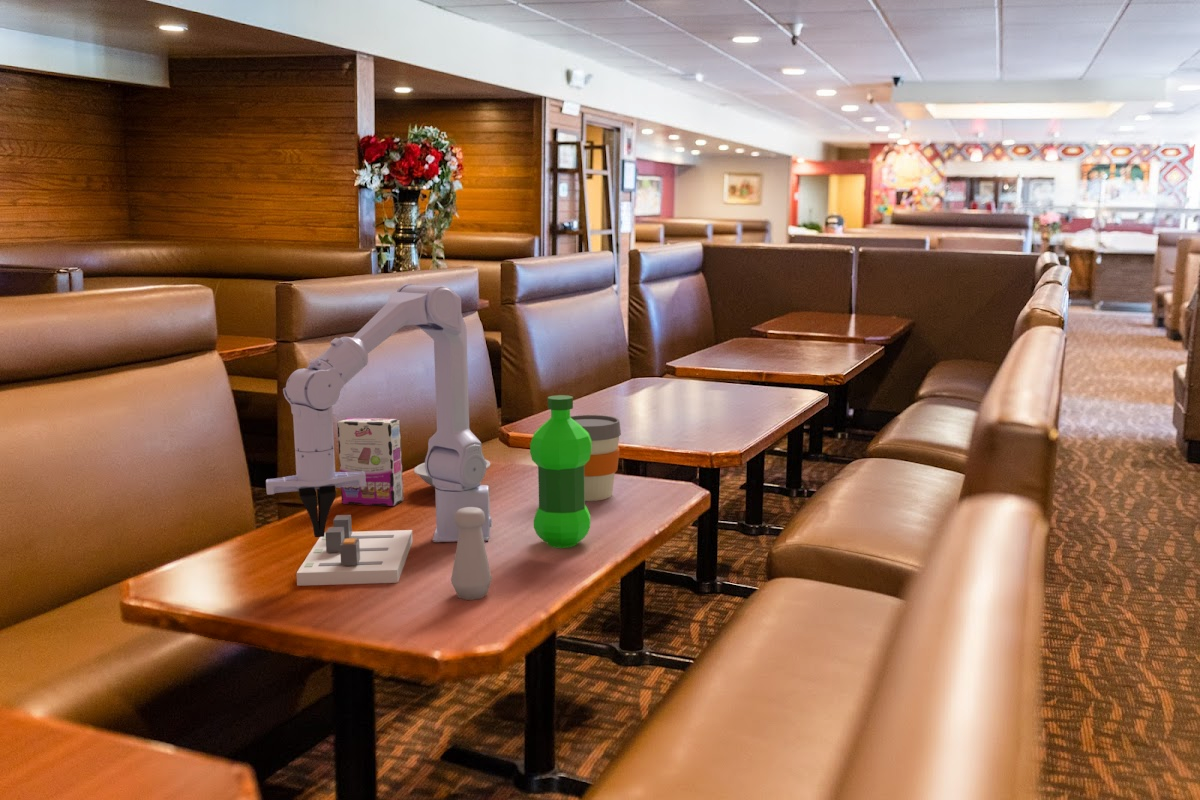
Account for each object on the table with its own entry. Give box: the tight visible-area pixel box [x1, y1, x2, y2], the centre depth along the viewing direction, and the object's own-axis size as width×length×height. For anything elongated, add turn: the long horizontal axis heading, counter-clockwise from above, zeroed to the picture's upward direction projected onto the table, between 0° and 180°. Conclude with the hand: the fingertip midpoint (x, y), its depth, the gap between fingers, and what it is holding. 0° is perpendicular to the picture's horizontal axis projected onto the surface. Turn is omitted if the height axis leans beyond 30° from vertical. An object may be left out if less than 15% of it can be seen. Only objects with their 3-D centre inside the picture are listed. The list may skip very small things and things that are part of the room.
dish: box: [413, 458, 491, 488], centre depth 217 cm, size 18×14×5 cm
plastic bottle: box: [529, 394, 592, 549], centre depth 179 cm, size 10×10×25 cm
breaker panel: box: [296, 529, 414, 586], centre depth 172 cm, size 15×21×2 cm
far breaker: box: [332, 514, 353, 538], centre depth 178 cm, size 2×3×3 cm
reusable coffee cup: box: [570, 414, 622, 502], centre depth 211 cm, size 13×13×15 cm
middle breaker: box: [325, 526, 345, 552], centre depth 172 cm, size 2×3×3 cm
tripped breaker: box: [340, 538, 360, 566], centre depth 165 cm, size 2×3×4 cm
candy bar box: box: [337, 417, 404, 507], centre depth 207 cm, size 11×5×16 cm, turn 77°
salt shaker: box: [450, 507, 492, 601], centre depth 156 cm, size 6×6×13 cm
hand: (319, 535), depth 164 cm, fingers closed
